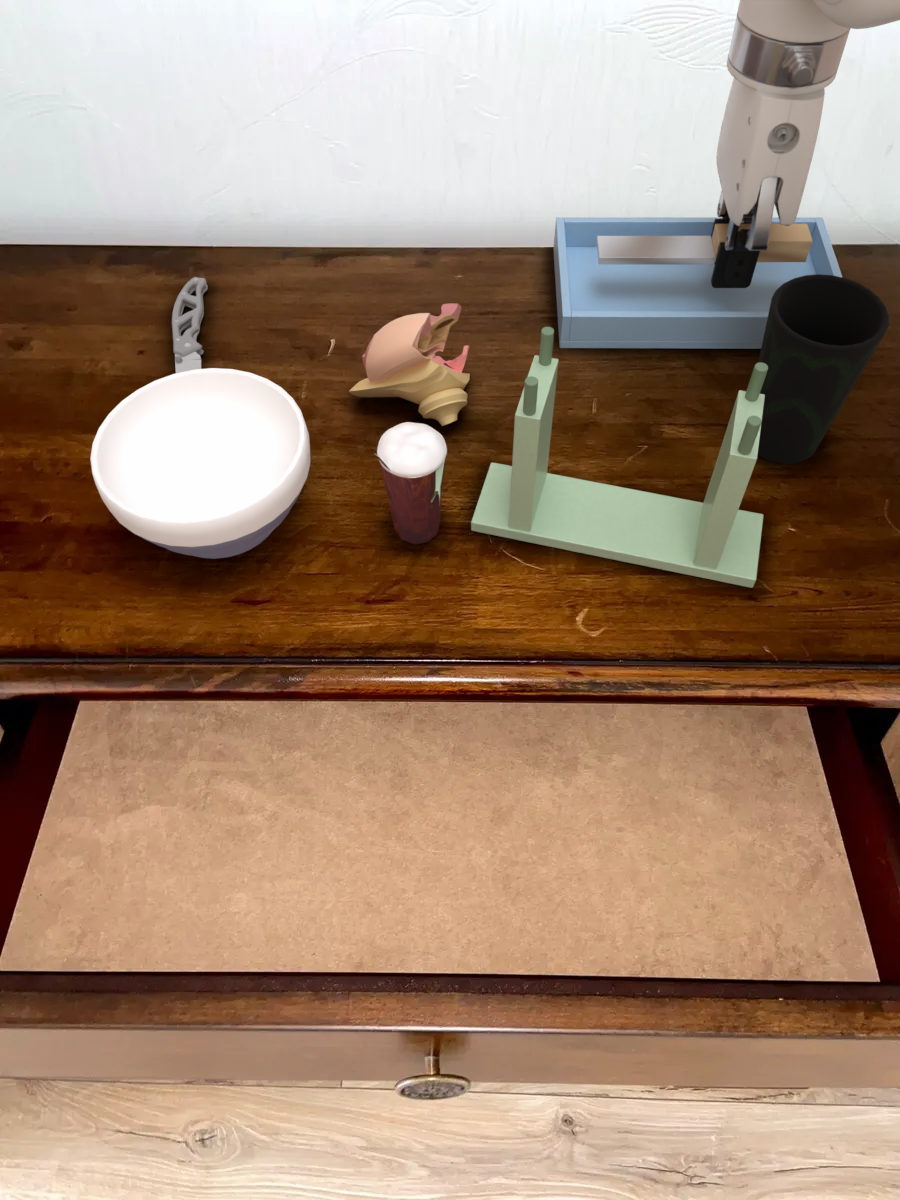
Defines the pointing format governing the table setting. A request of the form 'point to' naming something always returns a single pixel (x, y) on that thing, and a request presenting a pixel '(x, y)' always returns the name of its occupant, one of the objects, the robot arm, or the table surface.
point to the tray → (666, 289)
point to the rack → (626, 495)
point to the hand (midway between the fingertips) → (727, 272)
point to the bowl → (203, 461)
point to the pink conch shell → (417, 365)
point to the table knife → (700, 247)
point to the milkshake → (413, 478)
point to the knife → (188, 325)
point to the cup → (814, 359)
